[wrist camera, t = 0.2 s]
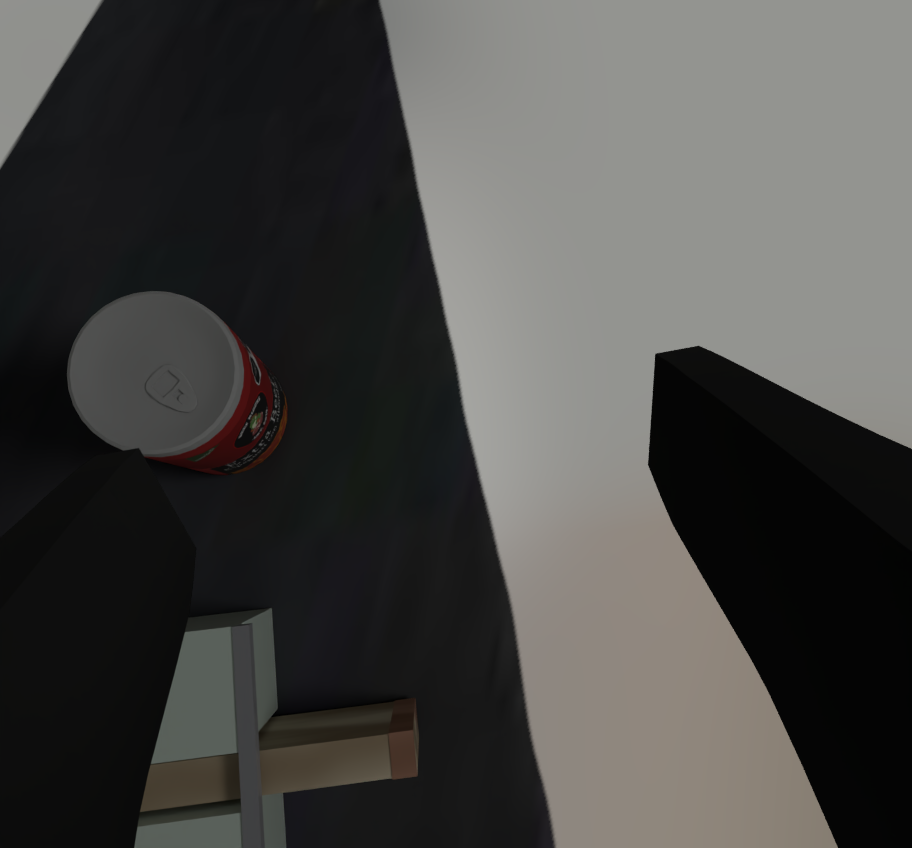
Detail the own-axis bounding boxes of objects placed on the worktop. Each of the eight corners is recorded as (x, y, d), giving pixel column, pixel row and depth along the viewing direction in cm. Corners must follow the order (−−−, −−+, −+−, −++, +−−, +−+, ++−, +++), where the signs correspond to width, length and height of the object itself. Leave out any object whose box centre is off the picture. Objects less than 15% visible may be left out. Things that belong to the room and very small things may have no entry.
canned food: (255, 497, 39) (189, 484, 28) (139, 442, 39) (29, 408, 28) (313, 387, 40) (271, 334, 29) (200, 334, 41) (117, 262, 30)
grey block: (299, 862, 36) (266, 949, 28) (103, 890, 35) (17, 986, 28) (283, 606, 38) (249, 624, 31) (99, 628, 37) (18, 652, 30)
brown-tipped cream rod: (418, 736, 37) (417, 776, 31) (170, 768, 36) (119, 816, 30) (415, 697, 37) (413, 729, 31) (169, 728, 36) (118, 768, 30)
